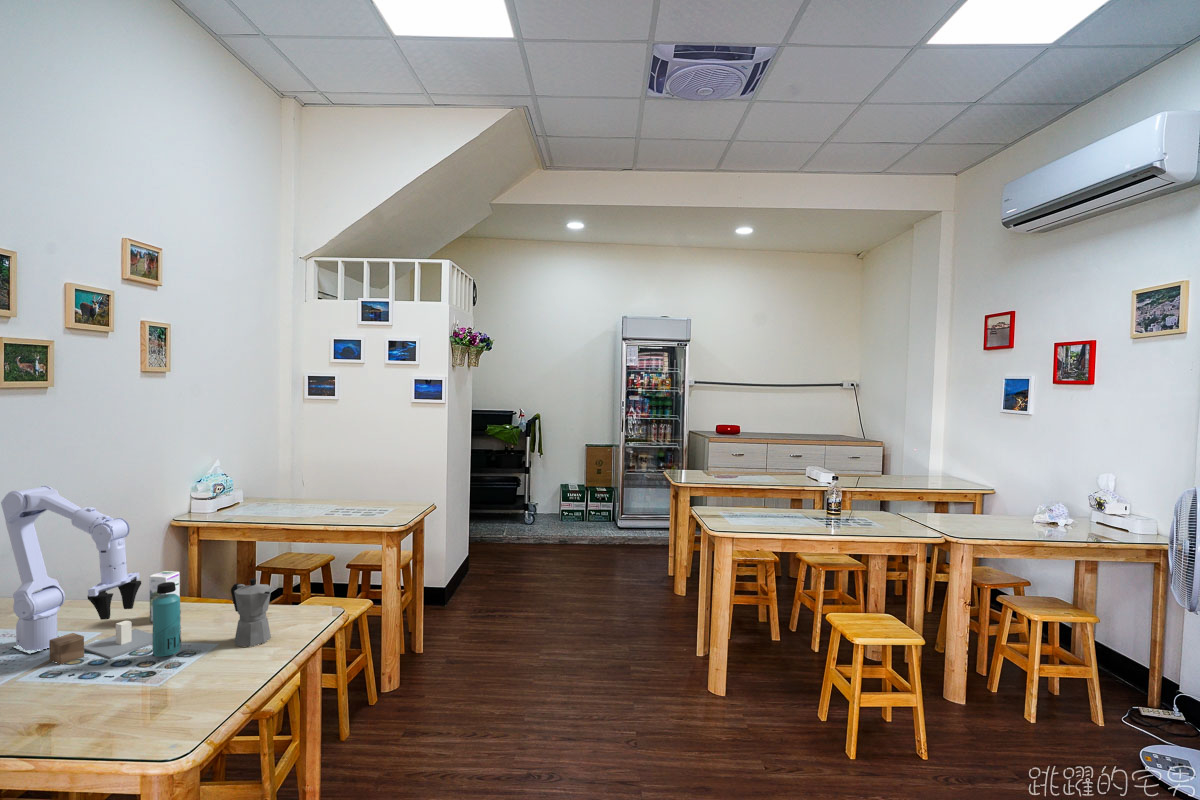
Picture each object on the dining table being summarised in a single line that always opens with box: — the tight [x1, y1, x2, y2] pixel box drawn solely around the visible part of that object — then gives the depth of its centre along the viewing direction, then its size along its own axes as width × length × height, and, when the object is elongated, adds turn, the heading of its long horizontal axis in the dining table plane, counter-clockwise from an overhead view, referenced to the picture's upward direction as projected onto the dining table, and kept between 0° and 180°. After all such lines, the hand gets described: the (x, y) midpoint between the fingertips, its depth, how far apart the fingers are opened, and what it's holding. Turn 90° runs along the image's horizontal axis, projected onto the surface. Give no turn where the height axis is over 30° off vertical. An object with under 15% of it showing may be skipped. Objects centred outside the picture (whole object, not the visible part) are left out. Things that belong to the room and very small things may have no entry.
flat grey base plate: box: [84, 620, 153, 660], centre depth 174 cm, size 14×14×6 cm
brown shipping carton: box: [48, 632, 85, 665], centre depth 164 cm, size 5×5×6 cm
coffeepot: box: [230, 578, 272, 647], centre depth 178 cm, size 15×9×18 cm, turn 67°
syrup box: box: [148, 570, 181, 623], centre depth 192 cm, size 6×6×14 cm
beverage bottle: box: [151, 582, 182, 657], centre depth 166 cm, size 6×7×20 cm
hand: (117, 613), depth 169 cm, fingers open, 7 cm apart
